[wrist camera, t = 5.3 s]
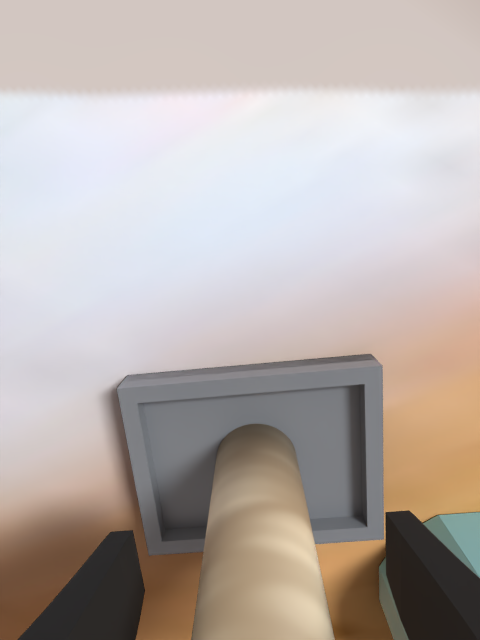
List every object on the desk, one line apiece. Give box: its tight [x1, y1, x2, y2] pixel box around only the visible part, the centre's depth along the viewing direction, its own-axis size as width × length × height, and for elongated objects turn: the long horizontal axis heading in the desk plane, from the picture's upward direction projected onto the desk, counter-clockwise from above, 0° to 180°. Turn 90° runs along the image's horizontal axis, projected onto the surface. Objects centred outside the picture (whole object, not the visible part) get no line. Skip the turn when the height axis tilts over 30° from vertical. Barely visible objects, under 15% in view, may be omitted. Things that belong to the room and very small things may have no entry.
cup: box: [379, 512, 480, 640], centre depth 15 cm, size 7×7×3 cm
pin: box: [191, 424, 335, 640], centre depth 10 cm, size 3×3×8 cm
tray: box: [117, 354, 384, 556], centre depth 14 cm, size 9×7×1 cm
